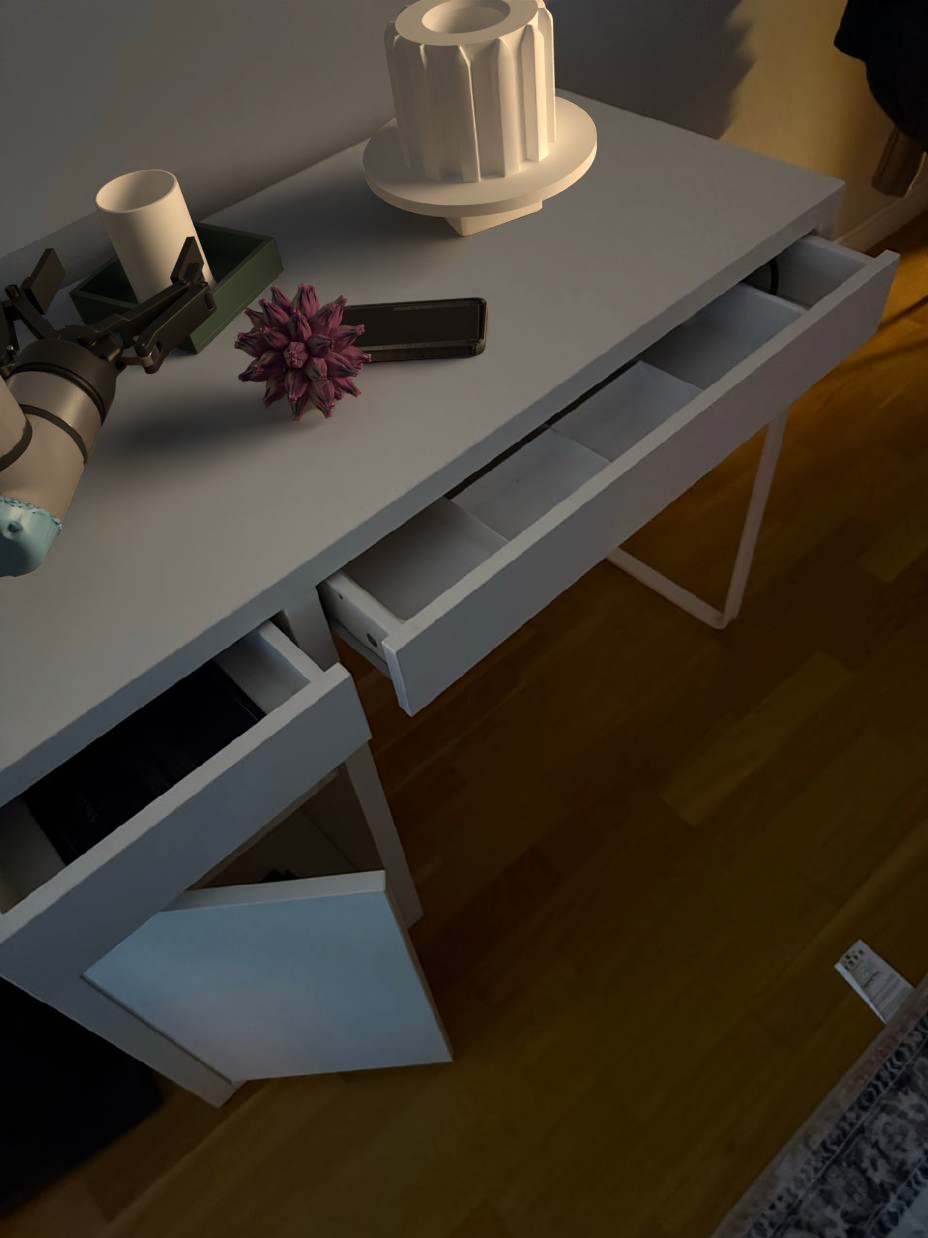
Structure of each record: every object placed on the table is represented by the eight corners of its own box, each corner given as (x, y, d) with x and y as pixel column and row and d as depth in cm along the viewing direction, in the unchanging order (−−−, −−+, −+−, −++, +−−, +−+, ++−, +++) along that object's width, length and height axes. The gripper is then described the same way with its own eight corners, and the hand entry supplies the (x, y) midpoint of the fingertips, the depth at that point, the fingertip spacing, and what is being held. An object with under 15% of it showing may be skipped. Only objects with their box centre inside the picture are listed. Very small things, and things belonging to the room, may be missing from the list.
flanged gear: (532, 129, 111) (523, -54, 96) (639, 218, 97) (648, 18, 82) (344, 192, 107) (304, 10, 92) (426, 295, 92) (394, 99, 77)
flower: (362, 456, 81) (228, 442, 80) (376, 367, 88) (253, 353, 87) (363, 353, 71) (211, 335, 71) (379, 261, 78) (240, 245, 77)
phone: (483, 345, 84) (326, 353, 86) (484, 355, 85) (329, 363, 87) (487, 295, 89) (338, 304, 91) (488, 305, 90) (341, 314, 92)
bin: (84, 324, 96) (67, 292, 93) (174, 246, 104) (162, 214, 101) (197, 354, 90) (184, 321, 87) (284, 269, 98) (275, 236, 95)
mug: (161, 263, 101) (116, 154, 91) (234, 258, 99) (197, 147, 90) (130, 327, 94) (78, 216, 84) (209, 322, 92) (165, 210, 83)
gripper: (-66, 449, 76) (19, 300, 88) (221, 433, 73) (266, 281, 86) (-121, 377, 70) (-22, 228, 82) (189, 355, 67) (242, 205, 80)
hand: (125, 255), depth 84 cm, fingers open, 13 cm apart
